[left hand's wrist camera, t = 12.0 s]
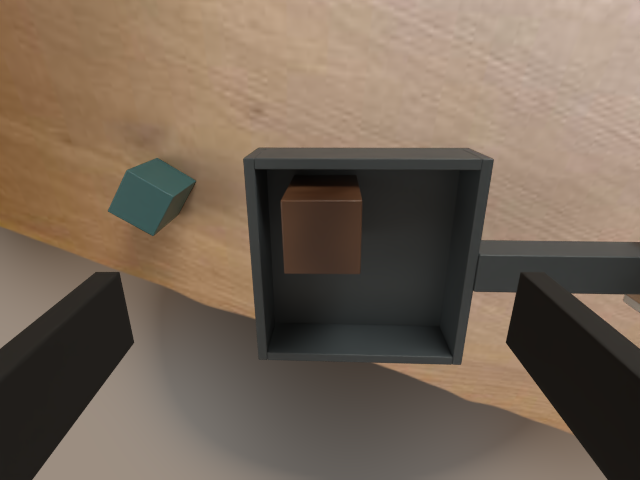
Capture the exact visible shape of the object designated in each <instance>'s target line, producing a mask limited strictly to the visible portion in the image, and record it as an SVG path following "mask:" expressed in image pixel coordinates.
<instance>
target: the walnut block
mask: <svg viewBox="0 0 640 480" xmlns="http://www.w3.org/2000/svg"><path fill="white" fill-rule="evenodd" d="M280 204H281V223H282V242H283V261H284V273H285V274H360V271H361V235H362V197H361V193H360V188H359V183H358V179H357V175H294V176H293V178H292V180H291V182H290V184H289V186H288V188H287V190H286V192H285V193H284V195H283V197H282V199H281V201H280Z"/></svg>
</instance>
